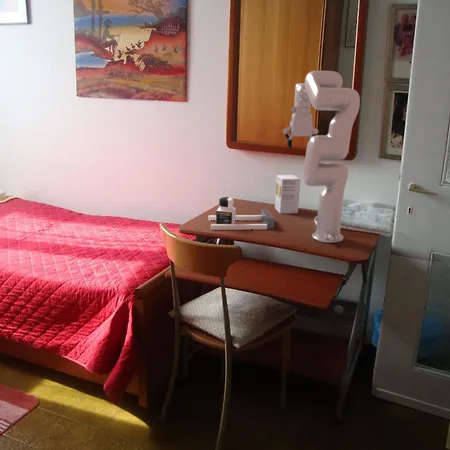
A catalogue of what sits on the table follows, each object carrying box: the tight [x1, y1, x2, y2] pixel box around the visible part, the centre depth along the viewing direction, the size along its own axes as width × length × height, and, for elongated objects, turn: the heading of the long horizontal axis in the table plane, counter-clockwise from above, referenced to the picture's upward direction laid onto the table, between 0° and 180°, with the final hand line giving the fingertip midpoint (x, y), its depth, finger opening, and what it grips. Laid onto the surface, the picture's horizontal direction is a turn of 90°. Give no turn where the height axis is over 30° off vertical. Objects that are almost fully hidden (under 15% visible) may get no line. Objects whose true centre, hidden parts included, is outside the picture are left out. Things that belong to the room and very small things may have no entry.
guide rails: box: [207, 214, 268, 231], centre depth 235 cm, size 15×24×2 cm, turn 96°
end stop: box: [260, 208, 275, 230], centre depth 236 cm, size 15×3×5 cm, turn 6°
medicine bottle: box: [215, 196, 237, 224], centre depth 233 cm, size 7×7×12 cm
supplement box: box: [274, 174, 301, 214], centre depth 257 cm, size 10×9×17 cm
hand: (299, 147), depth 252 cm, fingers open, 9 cm apart
